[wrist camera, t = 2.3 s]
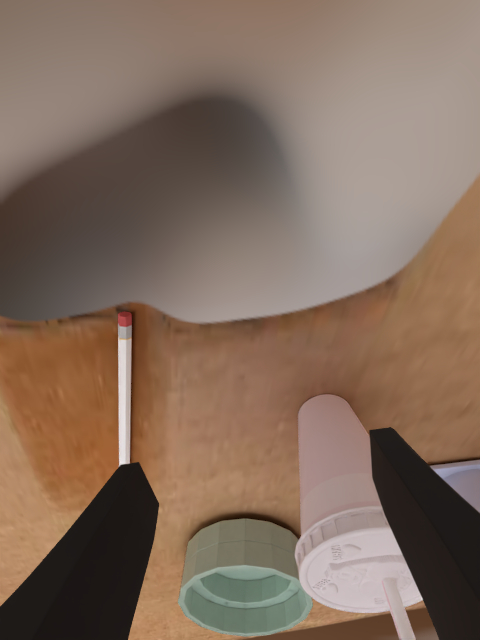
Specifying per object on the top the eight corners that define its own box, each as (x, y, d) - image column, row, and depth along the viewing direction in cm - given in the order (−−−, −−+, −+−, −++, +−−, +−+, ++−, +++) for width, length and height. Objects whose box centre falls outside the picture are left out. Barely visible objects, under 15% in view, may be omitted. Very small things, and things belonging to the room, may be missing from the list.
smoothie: (355, 454, 24) (477, 781, 11) (270, 443, 23) (295, 765, 11) (385, 384, 21) (592, 713, 8) (289, 371, 21) (353, 689, 8)
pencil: (133, 312, 19) (129, 317, 18) (130, 512, 27) (127, 520, 26) (120, 310, 19) (115, 315, 18) (121, 511, 27) (117, 519, 26)
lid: (295, 506, 26) (303, 559, 23) (310, 577, 31) (318, 631, 27) (172, 520, 28) (161, 573, 24) (203, 586, 32) (198, 640, 28)
